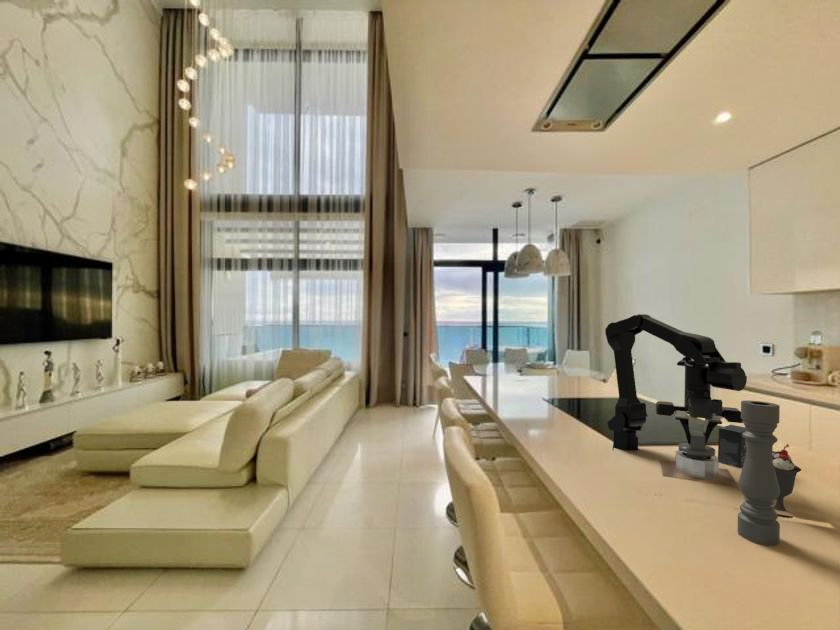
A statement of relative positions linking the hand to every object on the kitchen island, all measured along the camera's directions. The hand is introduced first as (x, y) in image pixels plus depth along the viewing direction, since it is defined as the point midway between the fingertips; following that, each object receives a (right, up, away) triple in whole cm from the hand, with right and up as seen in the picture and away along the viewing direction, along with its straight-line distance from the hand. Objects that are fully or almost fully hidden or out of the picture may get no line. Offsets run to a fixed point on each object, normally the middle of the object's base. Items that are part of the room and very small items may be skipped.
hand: (696, 444), depth 112 cm
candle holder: (-9, -8, -31) cm, 34 cm away
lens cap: (0, -5, 0) cm, 5 cm away
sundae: (+4, -8, -21) cm, 23 cm away
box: (+16, -9, +9) cm, 20 cm away
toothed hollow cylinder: (0, -7, 0) cm, 7 cm away
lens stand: (0, -8, 0) cm, 8 cm away
